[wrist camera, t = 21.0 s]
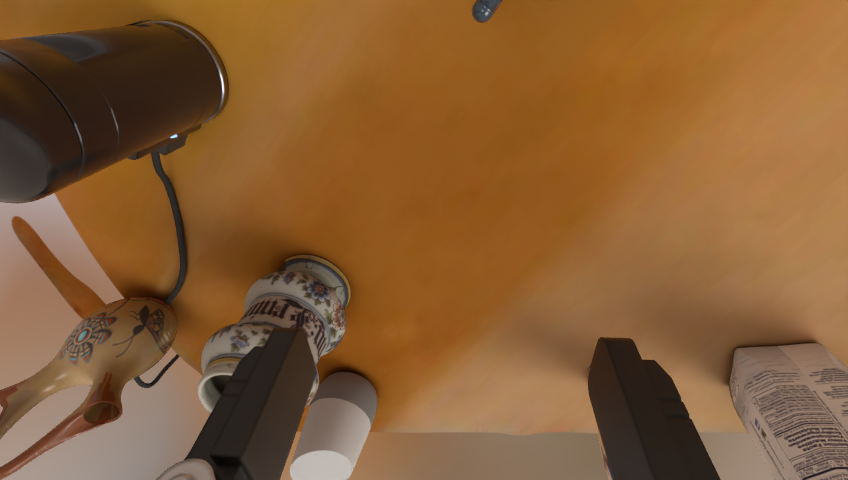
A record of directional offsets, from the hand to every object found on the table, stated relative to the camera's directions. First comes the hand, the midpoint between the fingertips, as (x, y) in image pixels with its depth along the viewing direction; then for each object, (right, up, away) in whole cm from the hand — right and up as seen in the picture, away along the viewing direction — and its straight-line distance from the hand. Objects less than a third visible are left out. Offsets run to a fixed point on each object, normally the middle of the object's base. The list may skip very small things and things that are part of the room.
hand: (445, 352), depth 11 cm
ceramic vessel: (-39, -6, +48) cm, 62 cm away
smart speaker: (-12, -19, +51) cm, 56 cm away
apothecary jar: (-15, -3, +42) cm, 44 cm away
